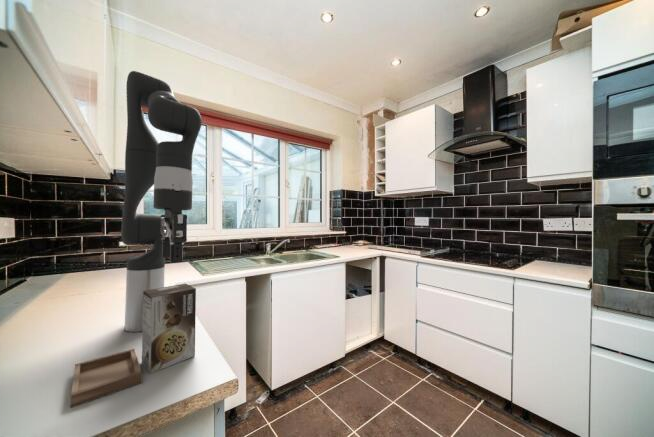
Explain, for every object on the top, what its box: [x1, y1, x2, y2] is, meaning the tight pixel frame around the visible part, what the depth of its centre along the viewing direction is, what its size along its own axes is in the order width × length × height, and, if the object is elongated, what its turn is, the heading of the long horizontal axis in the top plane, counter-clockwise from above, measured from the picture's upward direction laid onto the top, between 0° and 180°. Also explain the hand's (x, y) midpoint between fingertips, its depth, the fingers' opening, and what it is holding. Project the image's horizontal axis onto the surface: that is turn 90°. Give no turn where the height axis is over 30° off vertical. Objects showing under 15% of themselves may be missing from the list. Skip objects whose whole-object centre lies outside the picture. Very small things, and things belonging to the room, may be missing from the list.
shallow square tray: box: [70, 348, 142, 408], centre depth 49 cm, size 12×10×2 cm
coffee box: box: [141, 283, 197, 374], centre depth 57 cm, size 9×6×16 cm
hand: (171, 259), depth 57 cm, fingers open, 8 cm apart
